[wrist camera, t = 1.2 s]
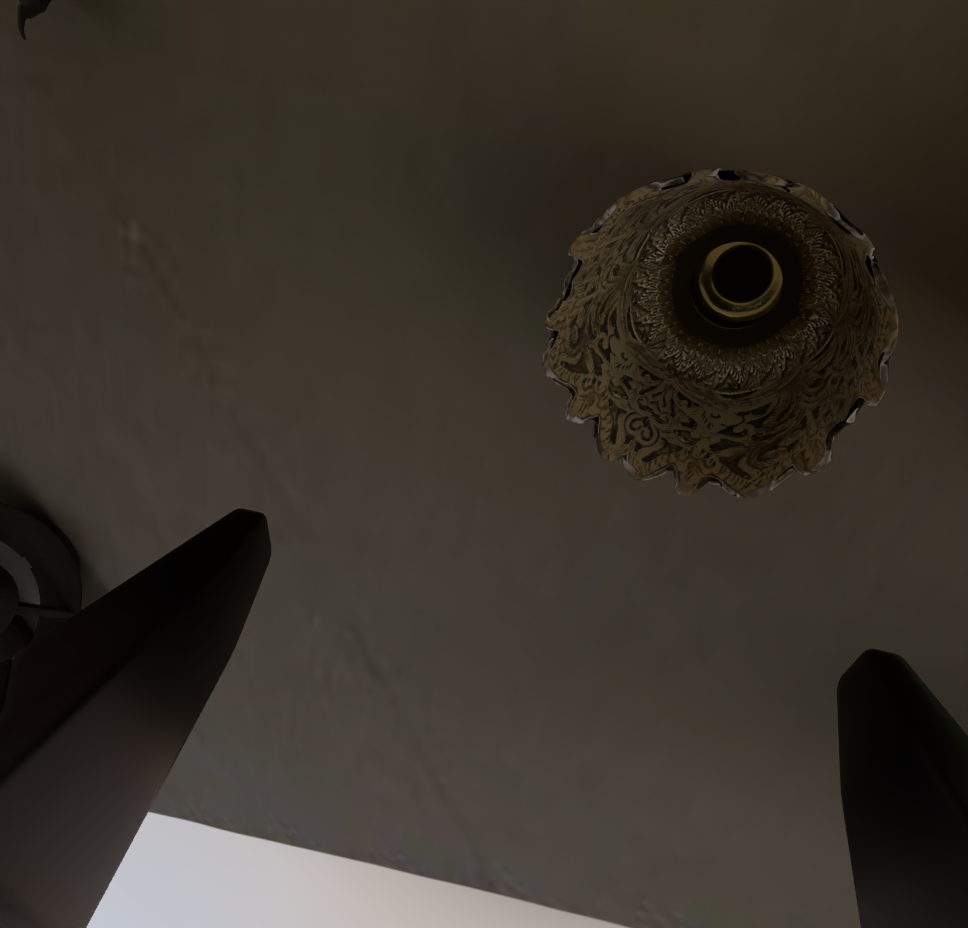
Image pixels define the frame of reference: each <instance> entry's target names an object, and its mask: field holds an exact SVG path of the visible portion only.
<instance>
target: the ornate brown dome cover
mask: <svg viewBox="0 0 968 928" xmlns="http://www.w3.org/2000/svg"><path fill="white" fill-rule="evenodd" d="M739 248H750V249H754V250H756V251H758V252H760V253H761V254H762V255H763V256H764V257H765V258H766V259H767V261H768V263H769V266H770V278H769V282H768V284H767V286H766V287H765V289H764V290H763V291H762V292H761V293H760V294H759V295H757V296H756V297H754V298H752V299H749V300H743V301H737V300H732V299H730V298H727V297H726V296H724V295H723V294H722V293H721V292H720V291H719V289H718V287H717V285H716V282H715V271H716V267H717V265H718V263H719V262H720V260H721V259H722V258H723V257H724V256H725V255H726V254H727V253H729V252H731V251H733V250H735V249H739ZM875 254H876V252H875V248H874V246H873V244H872V243H871V241H870V240H869V238H868V237H867V236H866V235H865V234H864V233H863V232H862V231H861V230H860V229H858V228H857V227H855V226H854V225H853V224H852V223H850V222H849V221H848V220H847V219H846V218H845V217H844V216H843V215H842V214H841V212H840V211H839V210H838V209H837V208H836V207H835V206H834V205H833V204H831V203H830V202H829V201H828V200H826V199H825V198H824V197H823V196H821V195H820V194H818V193H817V192H815V191H814V190H812V189H811V188H809V187H807V186H805V185H803V184H800V183H793V182H792V181H790V180H788V179H785V178H781V177H777V176H773V175H770V174H766V173H759V172H753V171H747V170H736V171H729V170H722V169H720V168H715V169H705V170H698V171H692V172H688V173H685V174H684V175H682V176H678V177H675V178H671V179H668V180H665V181H660V182H654V183H651V184H648V185H645V186H643V187H640V188H638V189H636V190H634V191H632V192H630V193H628V194H627V195H625V196H623V197H621V198H620V199H618V200H617V201H616V202H614V203H613V204H612V205H611V206H610V207H609V208H608V209H607V210H606V211H605V212H604V213H603V214H602V215H601V216H600V217H599V218H598V219H597V221H596V222H595V224H594V225H593V226H592V227H591V228H588V229H586V230H585V231H583V232H582V233H581V234H580V235H579V236H578V237H577V238H576V239H575V241H574V242H573V244H572V245H571V247H570V249H569V255H570V256H573V258H574V260H576V261H575V263H574V265H573V267H572V269H571V271H570V272H569V273H568V275H567V276H566V277H565V279H564V290H563V294H562V296H561V297H560V298H559V299H558V300H557V302H556V304H555V305H554V306H553V307H552V308H551V309H550V310H549V311H548V313H547V314H546V318H545V327H546V328H547V329H549V330H552V333H551V336H550V339H549V341H548V344H547V347H546V350H545V352H544V354H543V361H542V365H543V368H544V371H545V373H546V376H547V377H548V378H550V379H551V380H552V381H553V382H554V383H556V384H558V385H561V386H563V387H564V388H566V390H567V391H568V393H569V394H570V397H569V400H568V401H567V403H566V411H565V418H566V419H567V420H568V421H570V422H573V423H578V424H580V423H583V421H586V420H591V419H593V420H594V421H595V423H594V426H593V436H594V437H595V438H596V442H597V447H598V451H599V454H600V456H601V457H602V458H604V459H605V460H609V461H612V460H615V459H618V460H619V461H621V460H622V459H623V458H624V459H623V465H624V467H625V468H626V469H627V471H628V473H629V475H630V477H632V478H633V479H634V480H640V481H645V480H650V479H653V478H656V477H658V476H661V475H663V474H664V473H666V472H667V471H673V475H674V476H675V480H676V486H675V489H676V490H677V493H678V495H692V494H694V493H695V492H697V491H698V490H699V489H700V488H701V487H703V486H704V485H705V484H706V483H710V484H713V485H719V486H720V487H722V488H723V489H724V491H726V492H727V493H728V494H731V495H734V496H737V497H740V498H745V499H751V498H755V497H758V496H760V495H762V494H764V493H766V492H768V491H770V490H772V489H773V488H775V487H776V486H777V485H779V484H780V483H782V482H783V481H784V480H785V479H786V478H787V477H789V476H790V475H792V474H794V473H795V472H796V471H798V472H799V474H801V475H803V476H807V475H812V474H815V473H818V472H820V471H821V470H822V469H823V468H824V467H825V466H826V465H827V464H828V463H829V462H830V460H831V459H832V445H833V441H834V439H835V437H836V436H837V435H838V434H839V432H840V431H841V430H842V429H843V428H844V427H846V426H848V425H850V424H852V423H853V422H854V420H855V418H856V416H857V413H858V411H859V410H860V409H861V408H862V406H863V405H864V403H865V402H869V404H868V406H872V405H876V406H877V404H878V403H879V402H880V400H881V399H882V397H883V395H884V393H885V391H886V388H887V384H888V378H889V364H888V360H889V358H890V356H891V354H892V352H893V351H894V349H895V345H896V342H897V336H898V313H897V309H896V305H895V302H894V298H893V295H892V292H891V290H890V287H889V284H888V281H887V279H886V278H885V276H884V274H883V272H882V270H881V268H880V266H879V264H878V262H877V260H876V258H875ZM671 475H672V474H671Z"/></svg>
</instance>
